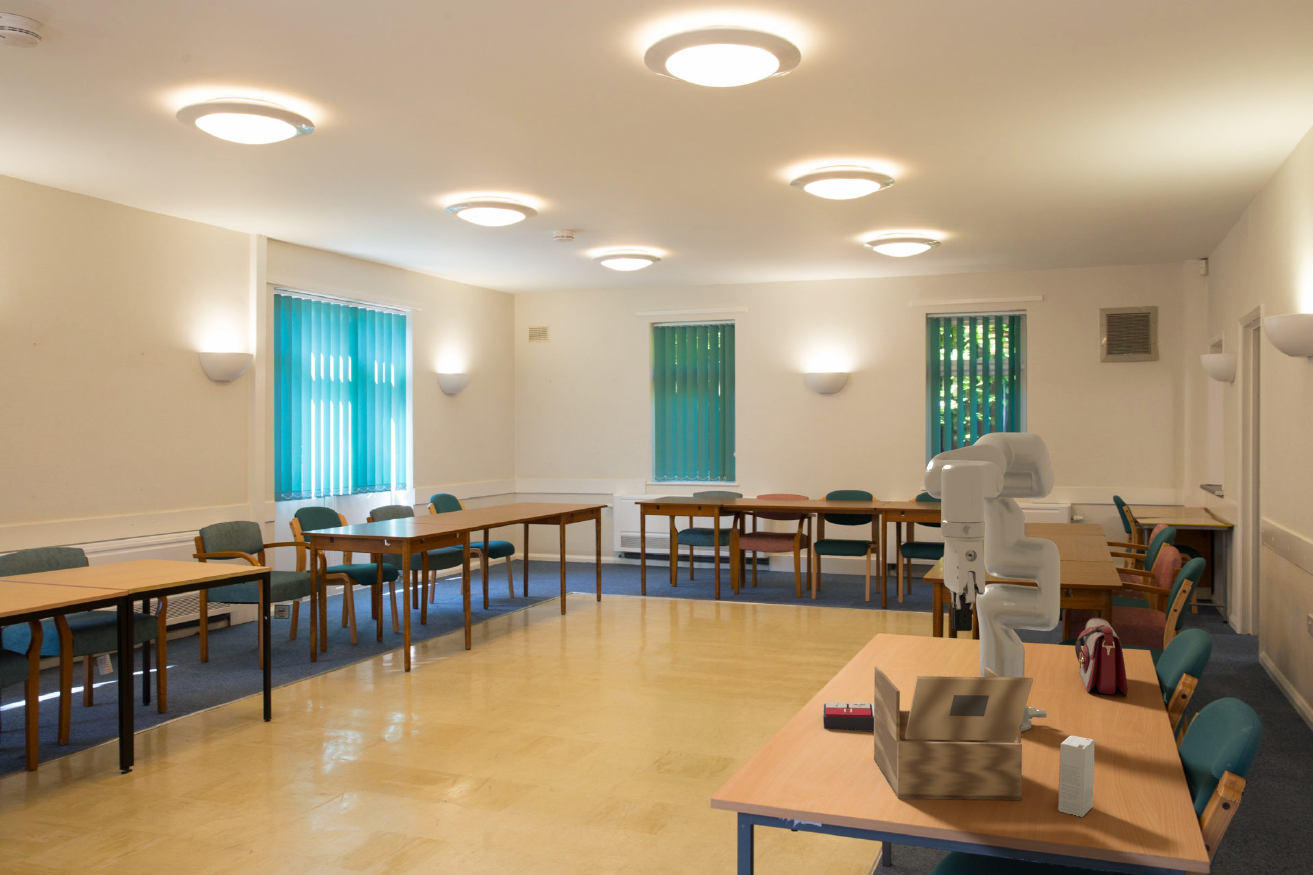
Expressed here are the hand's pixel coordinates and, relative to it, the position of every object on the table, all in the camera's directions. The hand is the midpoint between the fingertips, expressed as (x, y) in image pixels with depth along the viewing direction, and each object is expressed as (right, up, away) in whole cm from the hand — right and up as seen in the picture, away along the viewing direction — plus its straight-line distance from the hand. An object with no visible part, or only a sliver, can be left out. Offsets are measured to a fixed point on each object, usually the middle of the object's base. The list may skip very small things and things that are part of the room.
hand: (962, 629), depth 170 cm
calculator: (-11, -30, +39) cm, 50 cm away
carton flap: (-2, -12, -8) cm, 15 cm away
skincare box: (+17, -30, -9) cm, 35 cm away
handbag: (+60, -30, +73) cm, 100 cm away
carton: (-2, -29, +5) cm, 30 cm away
